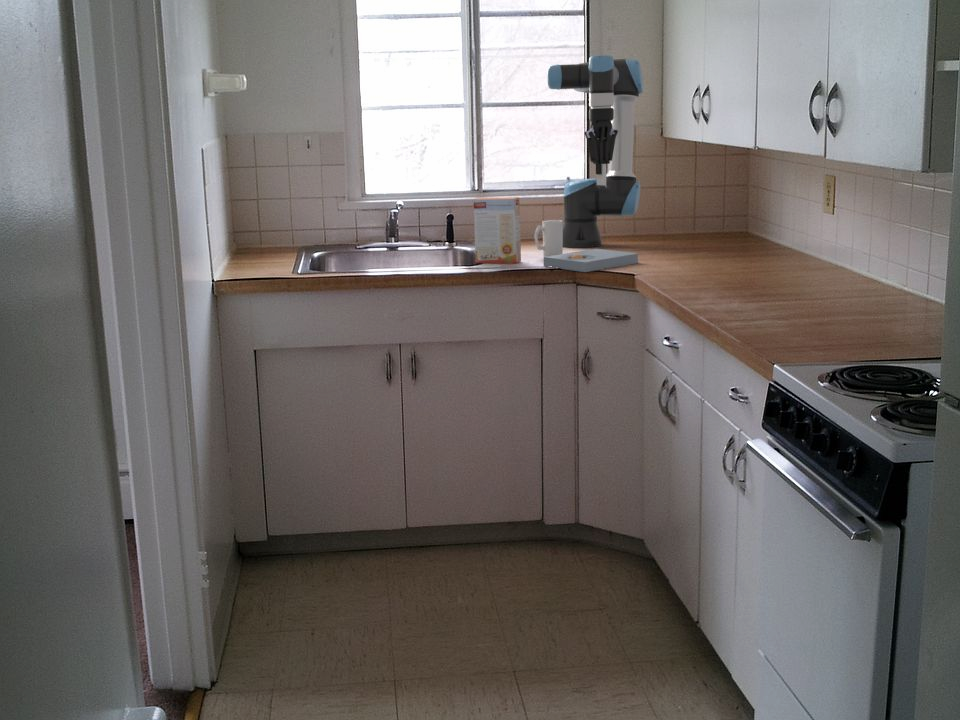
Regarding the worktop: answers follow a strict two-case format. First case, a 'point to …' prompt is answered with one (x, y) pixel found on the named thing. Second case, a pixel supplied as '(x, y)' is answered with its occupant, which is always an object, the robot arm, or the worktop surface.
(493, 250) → the cracker box
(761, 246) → the worktop surface
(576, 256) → the ball
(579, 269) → the tray
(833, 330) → the worktop surface
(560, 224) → the mug
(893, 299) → the worktop surface
